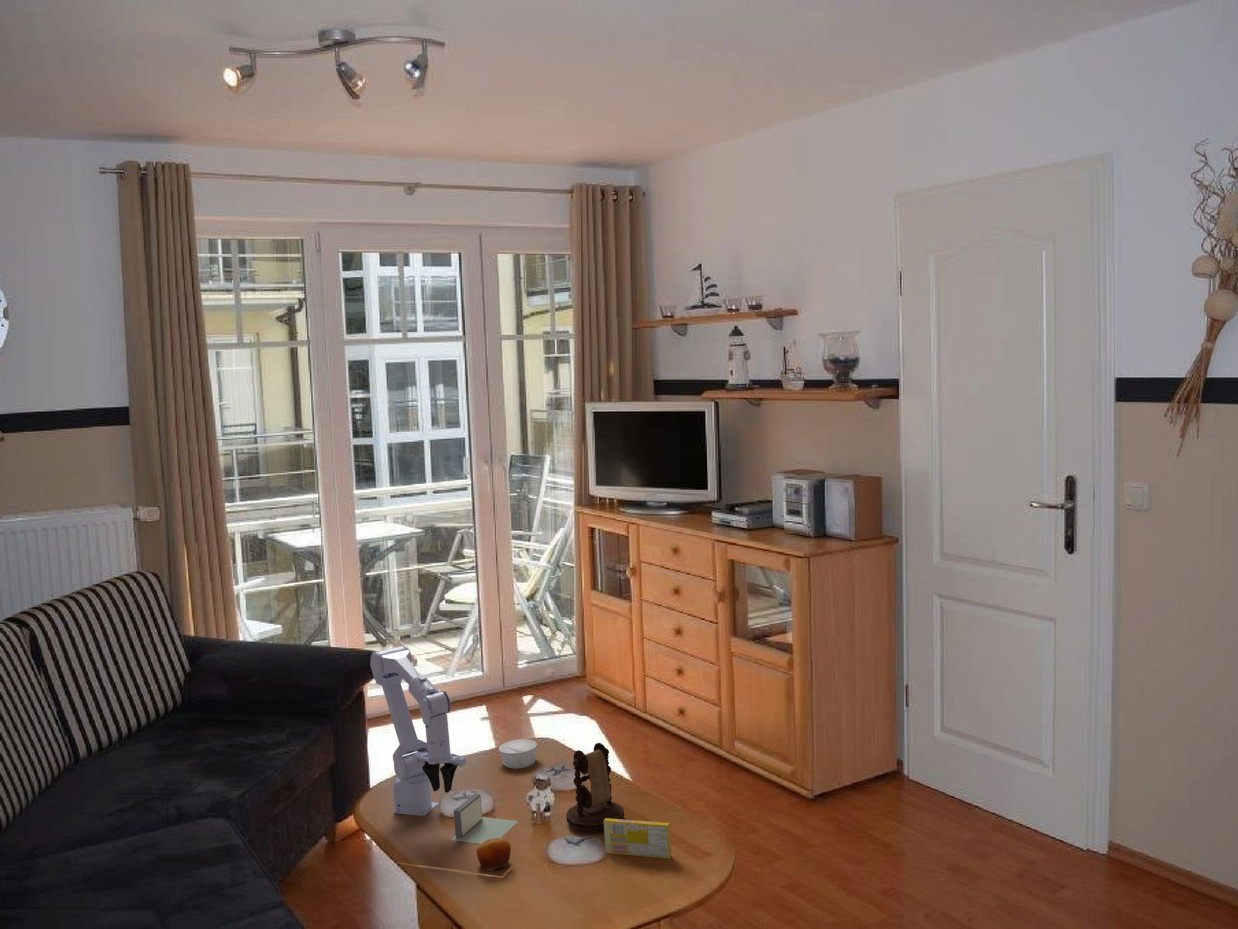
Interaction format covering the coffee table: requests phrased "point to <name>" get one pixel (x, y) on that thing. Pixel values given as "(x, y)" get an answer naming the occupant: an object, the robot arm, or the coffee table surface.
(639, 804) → the coffee table surface
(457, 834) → the slate tile
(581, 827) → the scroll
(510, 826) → the felt mat
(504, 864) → the fruit
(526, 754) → the ramekin
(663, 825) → the candy box
